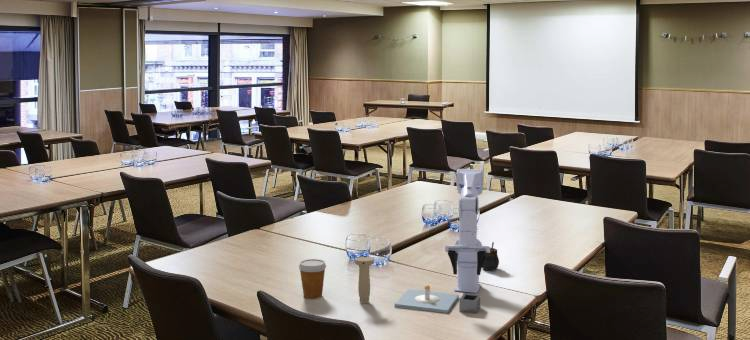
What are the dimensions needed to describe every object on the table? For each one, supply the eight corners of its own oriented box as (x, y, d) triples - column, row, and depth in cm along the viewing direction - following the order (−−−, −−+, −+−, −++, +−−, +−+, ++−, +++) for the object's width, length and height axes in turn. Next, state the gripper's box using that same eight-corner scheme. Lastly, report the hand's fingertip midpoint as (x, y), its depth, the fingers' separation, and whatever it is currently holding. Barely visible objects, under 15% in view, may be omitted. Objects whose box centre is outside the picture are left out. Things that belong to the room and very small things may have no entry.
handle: (355, 299, 238) (355, 256, 236) (374, 299, 238) (374, 257, 236) (354, 304, 234) (354, 260, 231) (373, 304, 233) (373, 261, 231)
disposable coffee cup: (330, 298, 239) (329, 264, 238) (303, 302, 236) (302, 267, 234) (321, 290, 248) (321, 257, 246) (295, 293, 245) (295, 260, 243)
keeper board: (408, 291, 246) (408, 275, 245) (458, 297, 240) (458, 280, 239) (394, 306, 231) (394, 289, 230) (447, 313, 225) (447, 295, 224)
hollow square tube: (463, 305, 233) (463, 293, 232) (480, 306, 231) (480, 295, 230) (459, 311, 227) (459, 299, 226) (476, 313, 225) (476, 301, 224)
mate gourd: (478, 270, 271) (479, 245, 269) (481, 265, 278) (482, 241, 277) (497, 272, 269) (498, 247, 267) (499, 267, 276) (500, 242, 274)
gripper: (443, 231, 228) (442, 272, 225) (487, 231, 224) (486, 273, 221) (448, 234, 235) (447, 274, 232) (491, 234, 230) (490, 276, 227)
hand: (466, 274), depth 227 cm, fingers open, 7 cm apart
